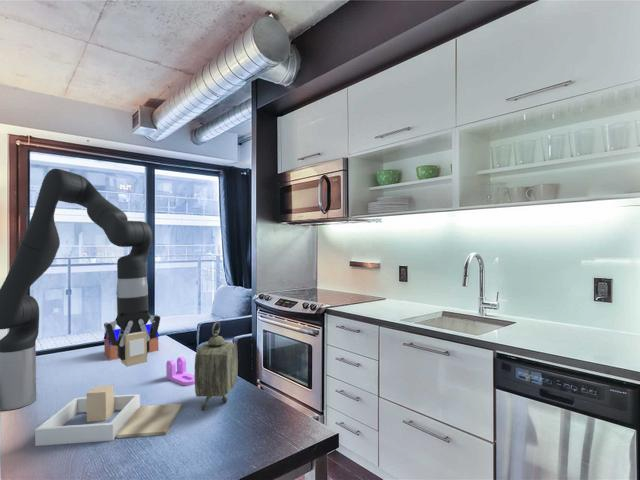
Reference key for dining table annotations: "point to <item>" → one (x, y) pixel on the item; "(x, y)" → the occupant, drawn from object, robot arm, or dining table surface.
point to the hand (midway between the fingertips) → (134, 356)
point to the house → (112, 350)
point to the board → (150, 421)
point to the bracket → (179, 372)
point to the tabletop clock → (215, 368)
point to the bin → (60, 434)
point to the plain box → (100, 403)
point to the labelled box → (135, 348)
